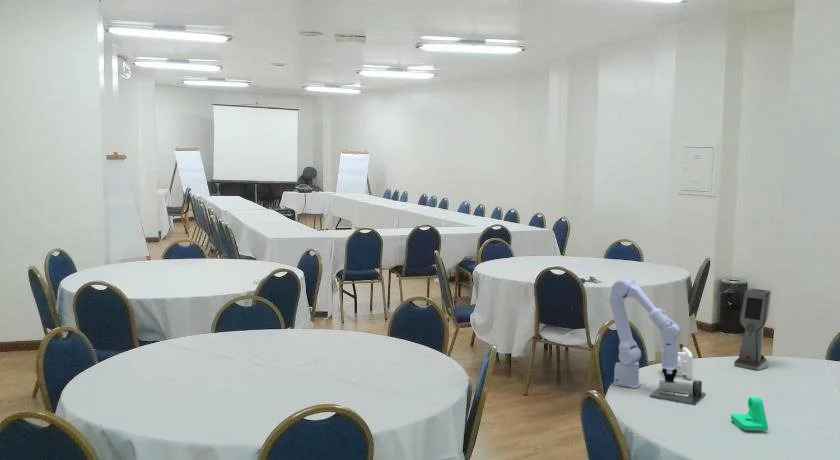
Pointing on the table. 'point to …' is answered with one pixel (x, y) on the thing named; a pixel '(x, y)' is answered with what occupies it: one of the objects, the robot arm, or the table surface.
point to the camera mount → (752, 416)
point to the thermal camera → (753, 328)
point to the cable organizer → (684, 362)
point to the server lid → (677, 397)
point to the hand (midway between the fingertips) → (669, 387)
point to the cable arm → (681, 387)
